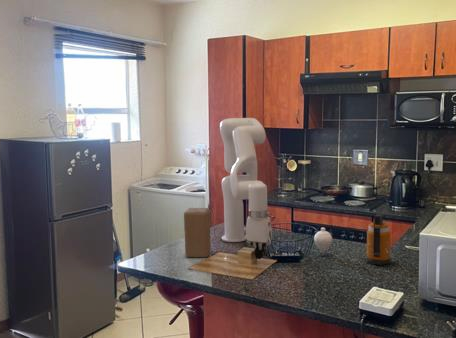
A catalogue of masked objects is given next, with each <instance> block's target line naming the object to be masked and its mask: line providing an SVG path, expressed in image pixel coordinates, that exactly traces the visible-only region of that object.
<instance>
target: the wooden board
mask: <svg viewBox="0 0 456 338" xmlns="http://www.w3.org/2000/svg"><path fill="white" fill-rule="evenodd" d="M276 262H278V260H277V259H272V258H271V259H270V258H263V257H262V258H261V259H257V261H256V262H254V263H253V264H251V265H249V264H242V263H238V254H234V253H229V252H228V253H227V252H221V251H219V252H217V253H215V254H213V255H211V256H210V257H209V256H208V257H207V258H206V259H204V260H202V261H200V262H198V263H197V264H195V265H193V266H191V267H189V268H188V270H193V271H200V272H205V273H210V274H216V275H222V276H227V277H233V278H234V277H235V278H241V279H247V280H254V279H255V278H256V277H258V276H259V275H260V274H261V273H263V272H264V271H265V270H267V269H268V268H270V267H271V266H272V265H273V264H274V263H276Z"/></svg>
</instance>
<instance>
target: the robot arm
mask: <svg viewBox="0 0 456 338" xmlns="http://www.w3.org/2000/svg"><path fill="white" fill-rule="evenodd" d="M219 131H220V136H221V139H222V142H223V148H224V149H223V153H224V154H223V157H224V158H223V163H224V165H223V166H224V170H225V172H226V173H230V174H229V175H227V176H224V177H223V178H222V179H221V191H222V195H223V219H224V220H223V221H224V234H223V235H222V236H221V240H222V241H223V242H226V243H241V242H245V241H246V243H247V244H249V245H251V246H252V248H254V249H255V256H256V259H261V258H263V257H264V248H265V247H269V246H271V245H272V240H273V229H272V222H271V217H270V216H271V215H272V212H271V211H269V209H268V186H267V184H266V183H264V182H263V181H261V180H258V159H257V153H256V148H255V145H263V144H264V143H265V141H266V137H267V135H266V134H267V133H266V130H265V128H264V126H263V124H261V122H260V121H259V120H258V119H257V118H255V117H231V118H224V119H223V120H221V122H220V124H219ZM239 173H241V174H239ZM242 173H246V174H242ZM243 200H248V216H247V219H246V226H245V217H244V216H245V215H244V214H245V213H244V212H245V211H244V202H243Z"/></svg>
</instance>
